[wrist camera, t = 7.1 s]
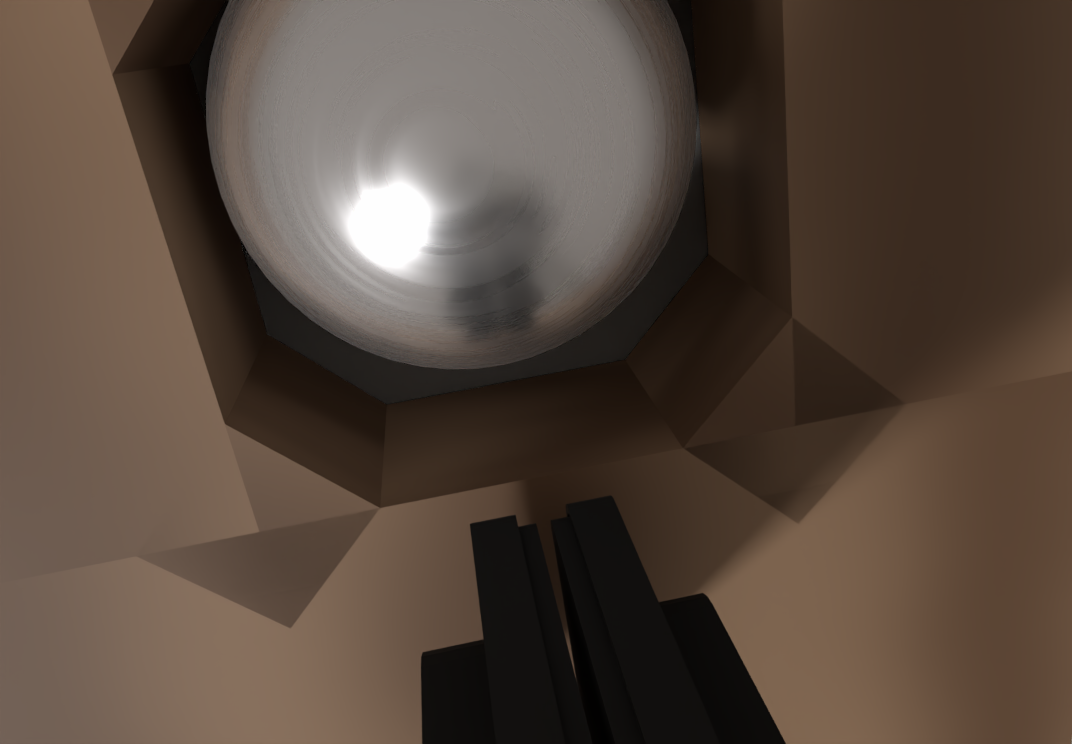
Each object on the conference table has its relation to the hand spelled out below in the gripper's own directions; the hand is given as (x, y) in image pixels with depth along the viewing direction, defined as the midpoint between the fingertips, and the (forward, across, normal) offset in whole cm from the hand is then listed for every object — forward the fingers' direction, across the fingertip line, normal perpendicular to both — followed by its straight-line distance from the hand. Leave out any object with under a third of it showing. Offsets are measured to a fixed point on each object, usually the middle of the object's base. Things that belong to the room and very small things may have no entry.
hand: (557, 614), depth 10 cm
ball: (+1, 0, -5) cm, 6 cm away
